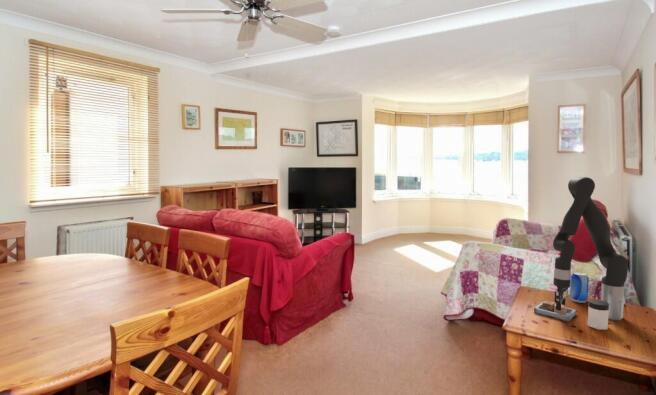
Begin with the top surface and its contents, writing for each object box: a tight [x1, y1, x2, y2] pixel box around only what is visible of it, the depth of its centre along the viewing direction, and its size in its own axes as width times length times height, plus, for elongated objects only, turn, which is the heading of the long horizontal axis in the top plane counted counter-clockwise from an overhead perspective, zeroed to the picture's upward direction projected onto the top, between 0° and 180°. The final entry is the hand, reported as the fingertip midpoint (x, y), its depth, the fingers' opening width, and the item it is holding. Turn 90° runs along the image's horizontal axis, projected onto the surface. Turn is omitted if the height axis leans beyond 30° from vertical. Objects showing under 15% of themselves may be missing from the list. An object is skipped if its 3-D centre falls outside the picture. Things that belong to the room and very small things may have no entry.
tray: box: [533, 301, 577, 323], centre depth 198 cm, size 16×13×2 cm
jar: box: [586, 298, 609, 331], centre depth 183 cm, size 9×8×12 cm
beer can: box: [569, 271, 590, 304], centre depth 215 cm, size 8×8×16 cm
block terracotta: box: [554, 303, 568, 315], centre depth 196 cm, size 4×4×4 cm
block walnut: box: [542, 300, 556, 312], centre depth 200 cm, size 4×4×4 cm
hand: (560, 308), depth 196 cm, fingers open, 6 cm apart
